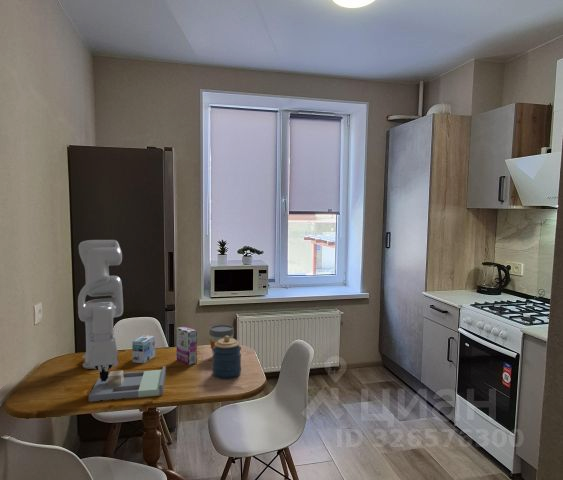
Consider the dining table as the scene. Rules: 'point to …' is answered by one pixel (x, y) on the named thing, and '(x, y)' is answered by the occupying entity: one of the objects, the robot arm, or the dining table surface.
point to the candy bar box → (187, 345)
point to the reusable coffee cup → (220, 333)
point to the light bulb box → (143, 349)
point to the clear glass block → (115, 378)
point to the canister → (226, 358)
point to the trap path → (131, 386)
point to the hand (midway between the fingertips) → (104, 380)
